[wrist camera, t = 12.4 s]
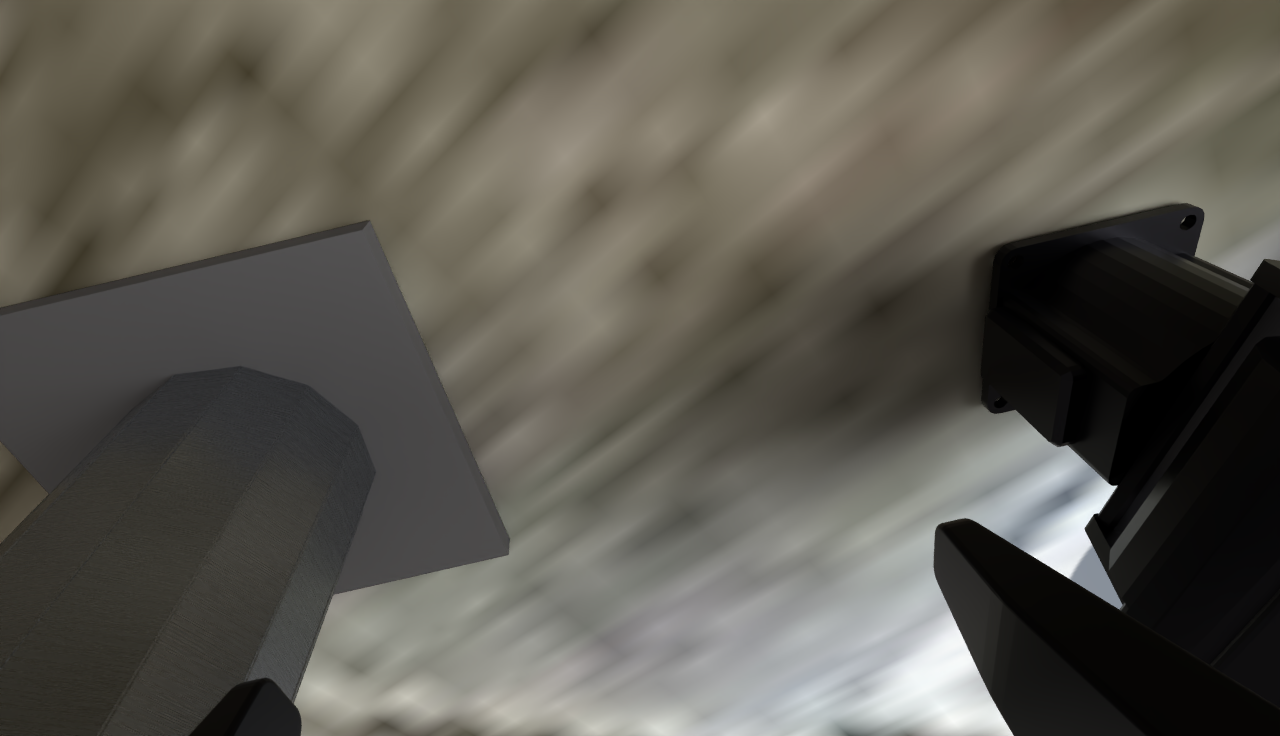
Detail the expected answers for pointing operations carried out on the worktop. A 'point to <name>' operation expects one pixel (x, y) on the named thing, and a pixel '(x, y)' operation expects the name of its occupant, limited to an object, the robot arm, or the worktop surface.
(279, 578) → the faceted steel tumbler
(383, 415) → the rubber mat
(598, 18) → the worktop surface
